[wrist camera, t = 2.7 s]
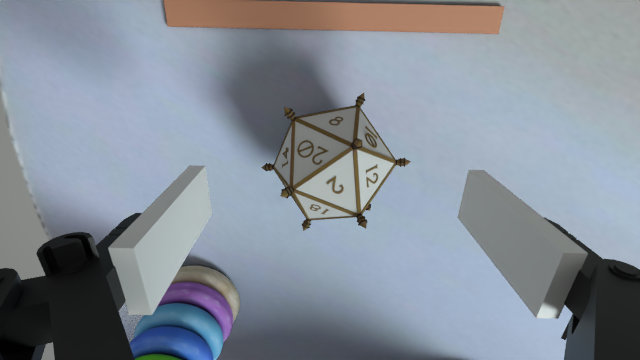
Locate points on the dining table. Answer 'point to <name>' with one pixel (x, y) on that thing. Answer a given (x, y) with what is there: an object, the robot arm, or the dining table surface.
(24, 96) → the dining table surface
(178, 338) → the stacking toy
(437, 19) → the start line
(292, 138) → the game die
